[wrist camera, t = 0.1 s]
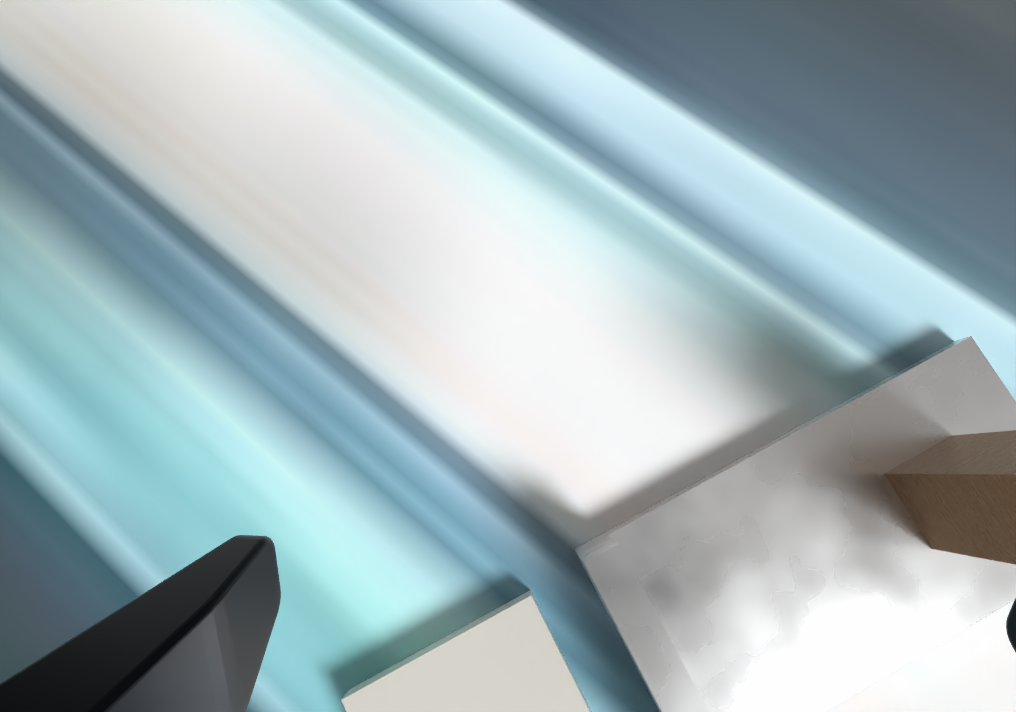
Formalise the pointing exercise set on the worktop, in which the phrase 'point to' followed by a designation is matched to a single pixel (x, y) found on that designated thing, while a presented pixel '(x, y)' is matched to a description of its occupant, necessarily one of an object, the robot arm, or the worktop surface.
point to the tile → (479, 670)
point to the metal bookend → (824, 548)
